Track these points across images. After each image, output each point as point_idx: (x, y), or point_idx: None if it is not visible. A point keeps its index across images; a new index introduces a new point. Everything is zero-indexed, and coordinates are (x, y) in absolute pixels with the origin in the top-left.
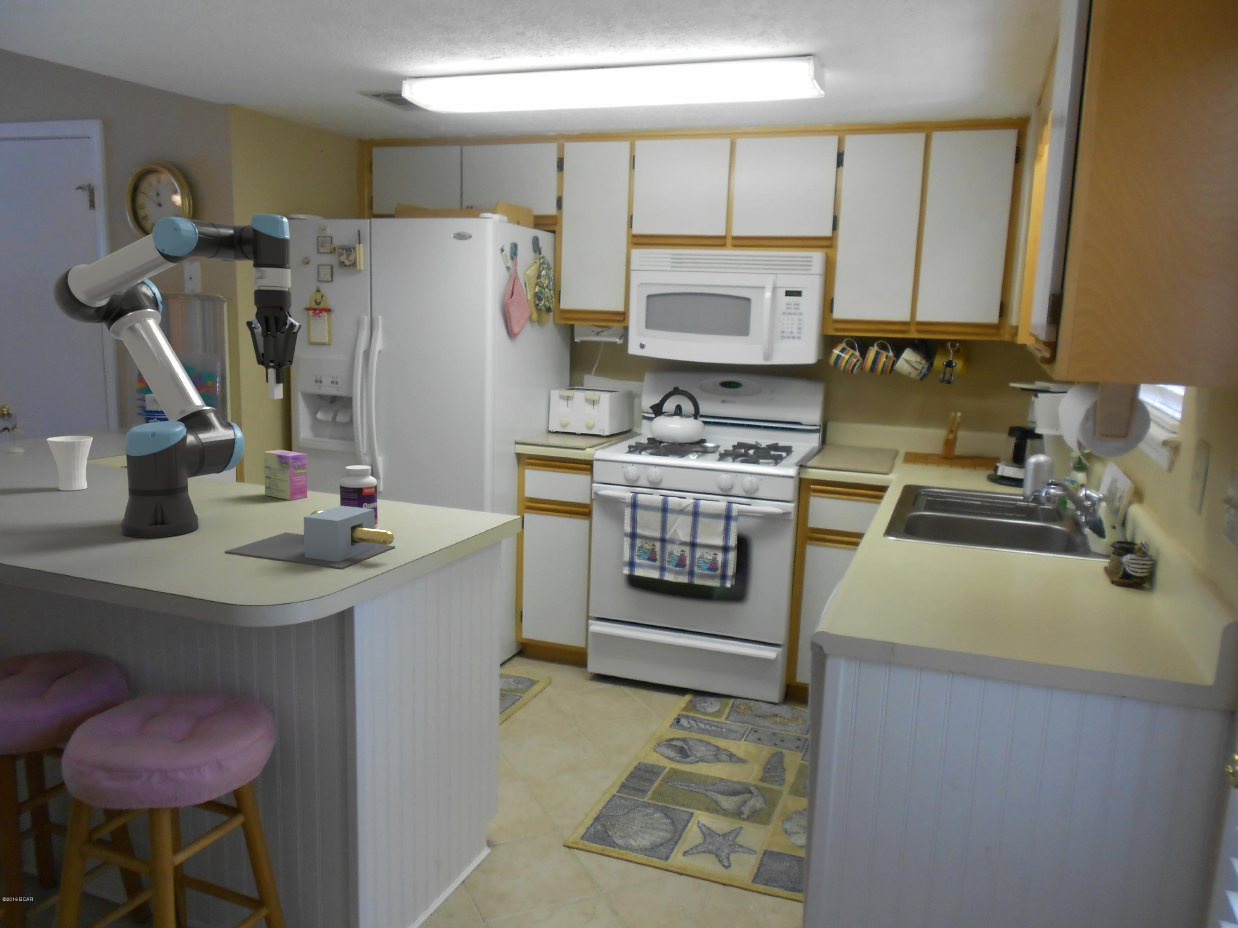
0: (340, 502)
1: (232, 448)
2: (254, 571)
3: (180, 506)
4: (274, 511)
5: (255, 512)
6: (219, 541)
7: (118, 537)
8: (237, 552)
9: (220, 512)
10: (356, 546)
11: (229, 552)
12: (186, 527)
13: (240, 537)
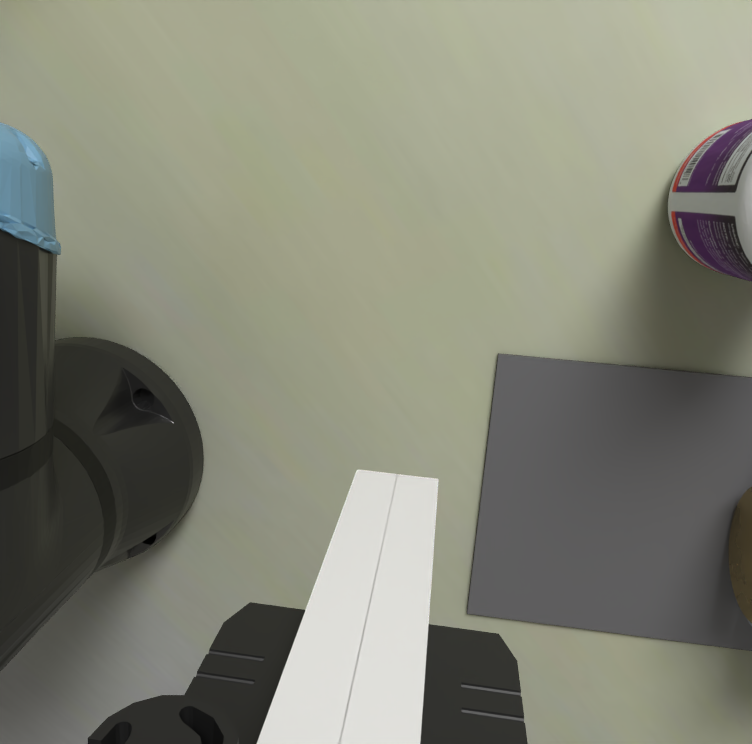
0: (720, 259)
1: (25, 253)
2: (664, 740)
3: (147, 499)
4: (223, 31)
5: (169, 83)
6: None
7: None
8: (510, 614)
9: (56, 141)
10: None
11: (483, 614)
12: (196, 470)
13: (387, 445)
